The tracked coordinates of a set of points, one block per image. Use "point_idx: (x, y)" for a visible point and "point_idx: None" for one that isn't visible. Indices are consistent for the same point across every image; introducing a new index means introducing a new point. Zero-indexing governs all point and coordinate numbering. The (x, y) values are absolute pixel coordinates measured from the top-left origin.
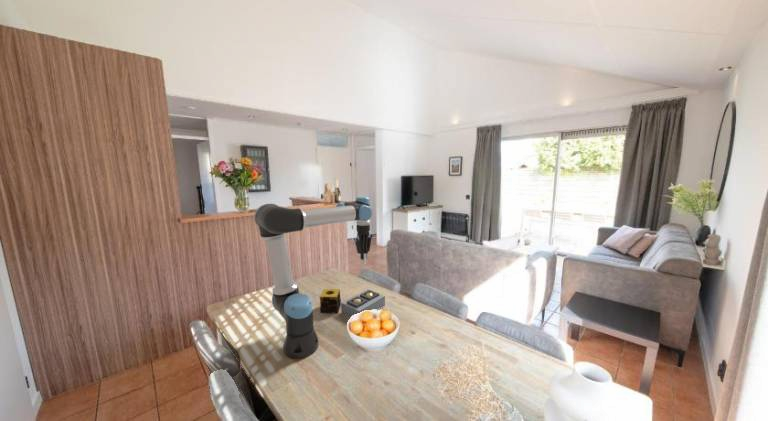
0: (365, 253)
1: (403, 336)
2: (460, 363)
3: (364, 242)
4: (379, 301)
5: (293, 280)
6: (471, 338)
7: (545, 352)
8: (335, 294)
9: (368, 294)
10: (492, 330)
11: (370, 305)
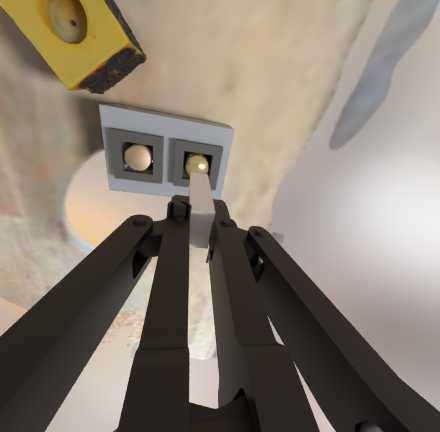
0: (208, 241)
1: None
2: None
3: (225, 349)
4: None
5: None
6: (200, 316)
7: (215, 352)
8: (76, 65)
9: (192, 167)
10: None
11: (158, 194)
